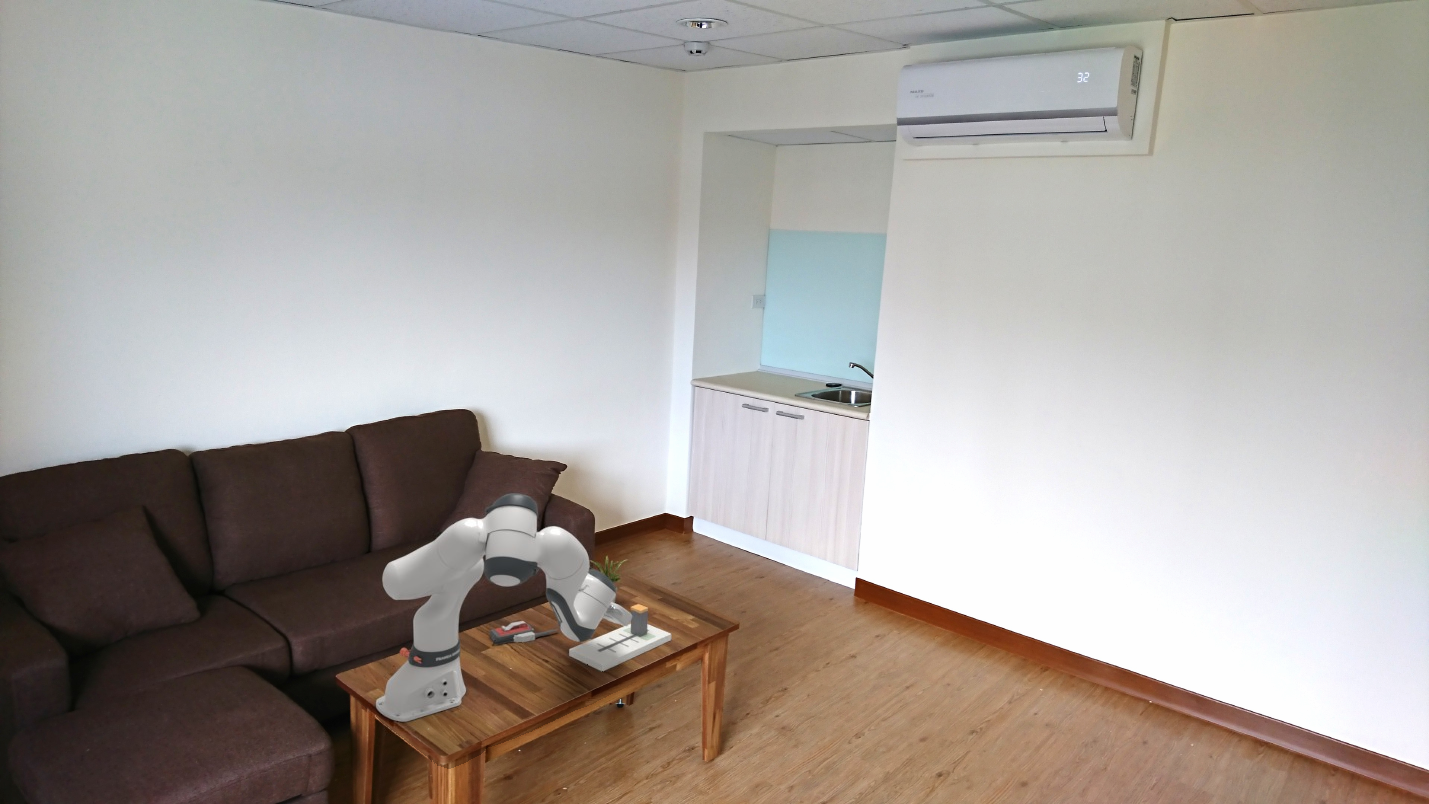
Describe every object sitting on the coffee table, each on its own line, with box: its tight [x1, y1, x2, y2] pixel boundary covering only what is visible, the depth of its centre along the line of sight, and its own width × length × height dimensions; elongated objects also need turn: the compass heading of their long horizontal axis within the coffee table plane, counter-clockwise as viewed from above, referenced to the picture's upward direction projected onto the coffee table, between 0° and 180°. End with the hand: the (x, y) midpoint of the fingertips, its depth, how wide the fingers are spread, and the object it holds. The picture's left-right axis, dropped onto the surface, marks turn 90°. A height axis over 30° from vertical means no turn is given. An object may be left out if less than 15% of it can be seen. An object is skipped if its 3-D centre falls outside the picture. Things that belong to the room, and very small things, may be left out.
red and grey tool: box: [489, 620, 559, 646], centre depth 273 cm, size 9×4×20 cm
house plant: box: [589, 555, 629, 603], centre depth 297 cm, size 14×14×16 cm
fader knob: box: [630, 603, 649, 636], centre depth 272 cm, size 3×4×8 cm
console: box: [568, 623, 672, 672], centre depth 267 cm, size 28×14×2 cm, turn 140°
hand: (614, 620), depth 264 cm, fingers closed
